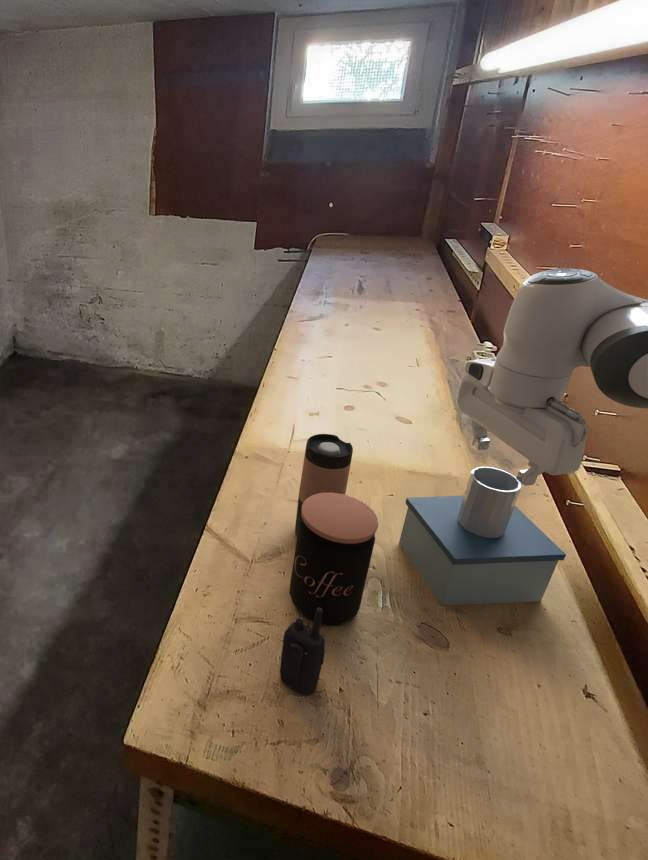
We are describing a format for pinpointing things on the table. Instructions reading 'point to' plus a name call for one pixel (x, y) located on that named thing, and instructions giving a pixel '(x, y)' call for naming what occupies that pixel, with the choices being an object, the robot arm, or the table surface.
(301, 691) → the two-way radio
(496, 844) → the table surface
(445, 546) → the storage container
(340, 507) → the coffee jar
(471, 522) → the grey cup
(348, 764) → the table surface
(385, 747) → the table surface
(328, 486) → the travel mug
